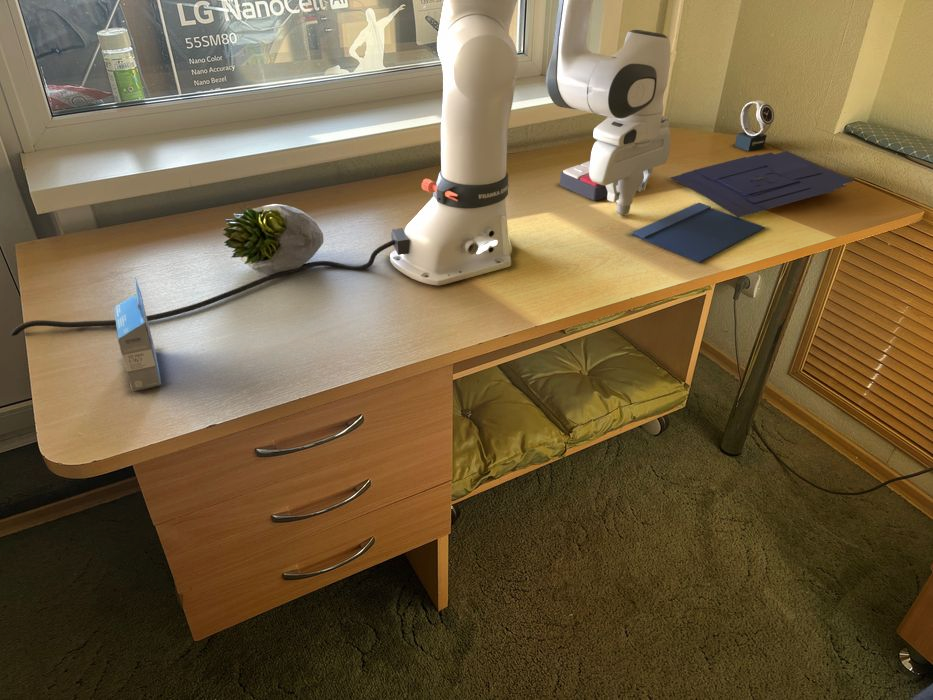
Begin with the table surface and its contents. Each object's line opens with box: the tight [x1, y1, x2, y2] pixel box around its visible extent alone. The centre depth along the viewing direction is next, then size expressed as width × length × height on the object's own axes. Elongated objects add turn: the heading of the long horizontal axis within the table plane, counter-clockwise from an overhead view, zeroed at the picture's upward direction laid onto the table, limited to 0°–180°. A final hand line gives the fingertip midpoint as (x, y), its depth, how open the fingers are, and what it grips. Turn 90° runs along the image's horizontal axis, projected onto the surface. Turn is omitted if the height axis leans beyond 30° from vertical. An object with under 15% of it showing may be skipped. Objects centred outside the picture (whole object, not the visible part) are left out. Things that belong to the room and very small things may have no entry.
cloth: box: [631, 202, 766, 264], centre depth 135 cm, size 22×15×1 cm
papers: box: [669, 150, 856, 218], centre depth 152 cm, size 24×30×4 cm
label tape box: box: [113, 275, 162, 392], centre depth 93 cm, size 9×4×12 cm, turn 25°
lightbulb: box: [615, 168, 644, 217], centre depth 139 cm, size 6×6×11 cm
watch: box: [734, 100, 775, 152], centre depth 174 cm, size 6×8×11 cm
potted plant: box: [222, 203, 324, 276], centre depth 118 cm, size 12×13×15 cm
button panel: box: [559, 160, 608, 202], centre depth 154 cm, size 11×4×15 cm
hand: (626, 195), depth 139 cm, fingers open, 7 cm apart
